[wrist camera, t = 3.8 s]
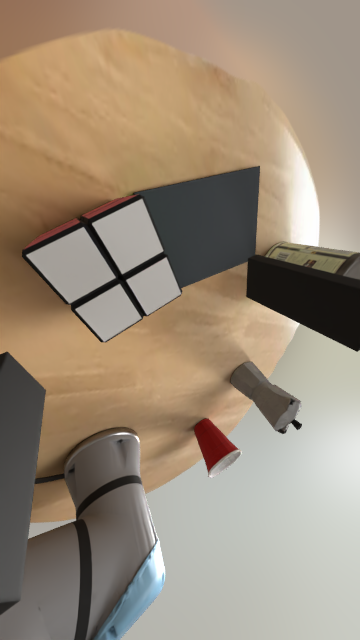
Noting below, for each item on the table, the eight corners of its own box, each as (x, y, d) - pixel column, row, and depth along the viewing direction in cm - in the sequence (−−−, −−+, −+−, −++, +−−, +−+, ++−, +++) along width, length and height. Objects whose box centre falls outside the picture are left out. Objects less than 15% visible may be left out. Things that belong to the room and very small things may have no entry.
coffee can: (283, 287, 45) (351, 310, 35) (253, 291, 41) (319, 320, 30) (299, 241, 41) (383, 252, 30) (266, 240, 36) (351, 253, 25)
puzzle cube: (35, 237, 20) (16, 253, 13) (117, 197, 22) (143, 191, 14) (92, 306, 26) (103, 346, 19) (153, 271, 28) (185, 294, 21)
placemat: (160, 294, 31) (161, 296, 30) (132, 193, 23) (134, 192, 22) (252, 257, 36) (255, 258, 36) (257, 166, 28) (260, 165, 28)
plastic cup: (184, 443, 58) (206, 487, 49) (189, 420, 53) (214, 464, 44) (212, 429, 63) (236, 467, 54) (218, 407, 58) (247, 445, 49)
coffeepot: (229, 366, 50) (291, 425, 36) (255, 350, 53) (322, 400, 39) (229, 399, 59) (279, 456, 45) (252, 384, 62) (305, 434, 48)
